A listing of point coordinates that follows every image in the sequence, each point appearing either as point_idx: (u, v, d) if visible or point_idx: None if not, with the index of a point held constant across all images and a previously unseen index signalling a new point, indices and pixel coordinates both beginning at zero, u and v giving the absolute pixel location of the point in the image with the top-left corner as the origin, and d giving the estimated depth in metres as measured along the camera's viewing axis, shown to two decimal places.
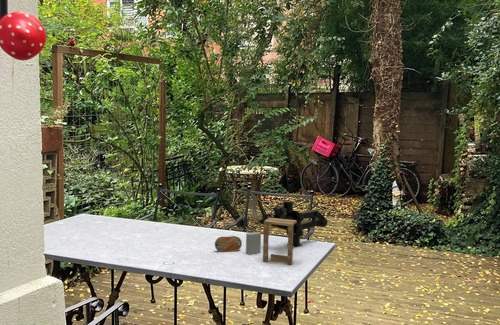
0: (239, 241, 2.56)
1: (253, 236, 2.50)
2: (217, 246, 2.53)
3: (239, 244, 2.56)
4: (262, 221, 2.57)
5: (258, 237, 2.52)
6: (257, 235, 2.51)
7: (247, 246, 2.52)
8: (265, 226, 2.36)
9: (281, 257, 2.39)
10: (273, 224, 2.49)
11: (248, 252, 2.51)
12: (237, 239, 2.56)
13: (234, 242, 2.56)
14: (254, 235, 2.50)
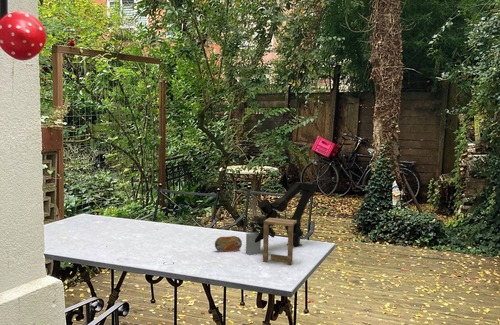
0: (239, 241, 2.56)
1: (253, 236, 2.50)
2: (217, 246, 2.53)
3: (239, 244, 2.56)
4: None
5: None
6: (257, 235, 2.51)
7: (247, 246, 2.52)
8: (265, 226, 2.36)
9: (281, 257, 2.39)
10: (256, 240, 2.51)
11: (248, 252, 2.51)
12: (237, 239, 2.56)
13: (234, 242, 2.56)
14: (254, 235, 2.50)
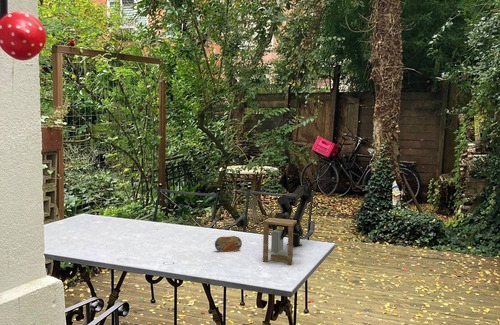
0: (239, 241, 2.56)
1: (279, 233, 2.46)
2: (217, 246, 2.53)
3: (239, 244, 2.56)
4: None
5: None
6: (281, 232, 2.48)
7: (273, 244, 2.46)
8: (265, 226, 2.36)
9: (281, 257, 2.39)
10: (282, 237, 2.47)
11: (275, 250, 2.46)
12: (237, 239, 2.56)
13: (234, 242, 2.56)
14: (280, 232, 2.46)
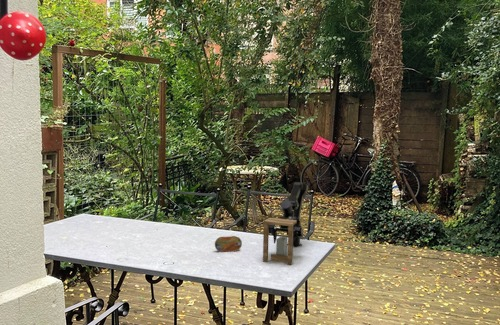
0: (239, 241, 2.56)
1: (284, 241, 2.41)
2: (217, 246, 2.53)
3: (239, 244, 2.56)
4: (275, 239, 2.46)
5: (286, 241, 2.44)
6: (286, 239, 2.44)
7: (278, 252, 2.41)
8: (265, 226, 2.36)
9: (281, 257, 2.39)
10: None
11: None
12: (237, 239, 2.56)
13: (234, 242, 2.56)
14: (285, 240, 2.42)
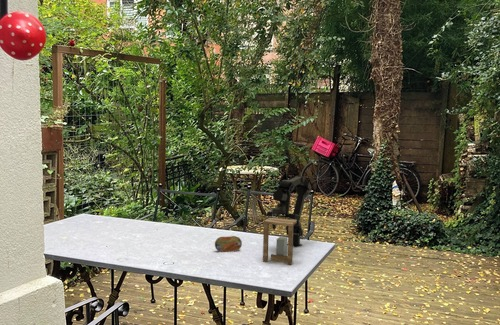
0: (239, 241, 2.56)
1: (284, 241, 2.41)
2: (217, 246, 2.53)
3: (239, 244, 2.56)
4: (274, 225, 2.56)
5: (286, 241, 2.44)
6: (286, 239, 2.44)
7: (278, 252, 2.41)
8: (265, 226, 2.36)
9: (281, 257, 2.39)
10: None
11: None
12: (237, 239, 2.56)
13: (234, 242, 2.56)
14: (285, 240, 2.42)
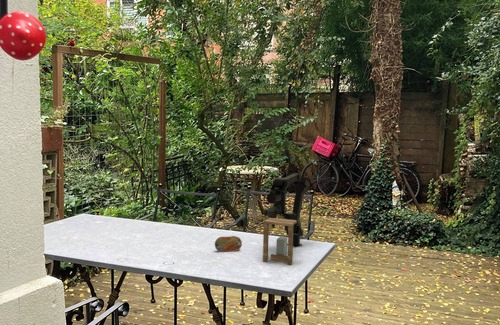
0: (239, 241, 2.56)
1: (284, 241, 2.41)
2: (217, 246, 2.53)
3: (239, 244, 2.56)
4: None
5: (286, 241, 2.44)
6: (286, 239, 2.44)
7: (278, 252, 2.41)
8: (265, 226, 2.36)
9: (281, 257, 2.39)
10: (286, 228, 2.51)
11: None
12: (237, 239, 2.56)
13: (234, 242, 2.56)
14: (285, 240, 2.42)
